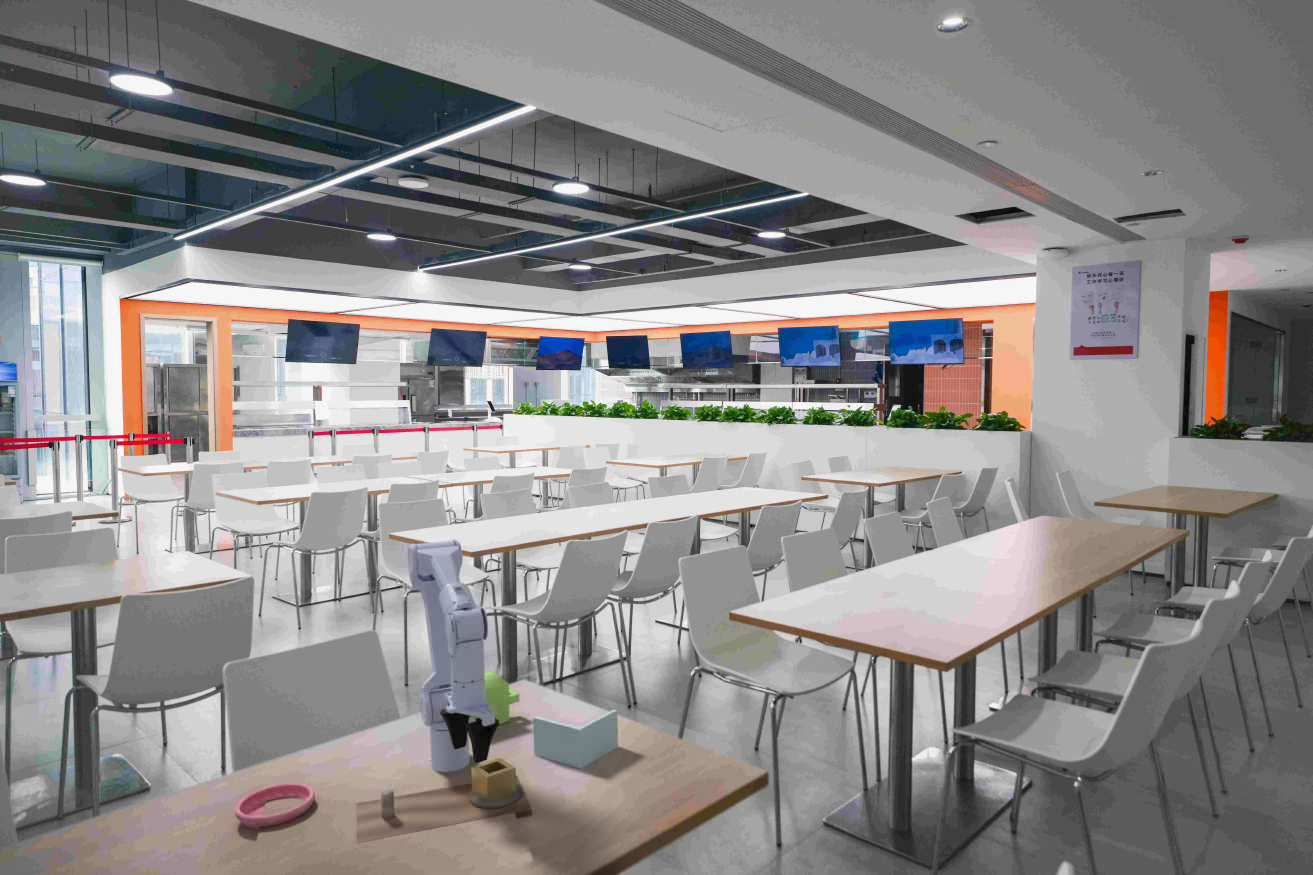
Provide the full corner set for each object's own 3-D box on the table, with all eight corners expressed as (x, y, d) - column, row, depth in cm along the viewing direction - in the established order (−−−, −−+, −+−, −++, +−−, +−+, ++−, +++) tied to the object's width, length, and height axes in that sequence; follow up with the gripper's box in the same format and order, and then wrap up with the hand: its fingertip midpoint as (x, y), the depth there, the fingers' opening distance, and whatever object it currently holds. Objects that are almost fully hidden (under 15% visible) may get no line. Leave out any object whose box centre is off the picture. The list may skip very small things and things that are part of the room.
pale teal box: (618, 746, 165) (617, 709, 165) (580, 768, 155) (579, 729, 155) (572, 734, 172) (572, 699, 172) (534, 754, 162) (533, 717, 162)
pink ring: (235, 842, 131) (234, 823, 131) (235, 810, 142) (234, 792, 142) (318, 823, 137) (317, 805, 137) (312, 793, 148) (311, 776, 148)
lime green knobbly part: (450, 745, 169) (449, 701, 168) (430, 729, 176) (428, 687, 176) (525, 720, 180) (524, 679, 180) (503, 707, 188) (502, 667, 187)
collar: (472, 792, 143) (471, 766, 142) (500, 782, 146) (499, 757, 146) (487, 803, 138) (486, 777, 138) (516, 792, 142) (515, 767, 142)
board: (356, 808, 141) (355, 779, 141) (516, 780, 151) (516, 752, 151) (356, 848, 128) (355, 816, 128) (532, 814, 138) (531, 784, 137)
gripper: (428, 673, 145) (430, 748, 145) (467, 693, 134) (469, 774, 134) (463, 664, 149) (465, 736, 150) (504, 683, 138) (506, 761, 139)
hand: (470, 754), depth 142 cm, fingers open, 7 cm apart
